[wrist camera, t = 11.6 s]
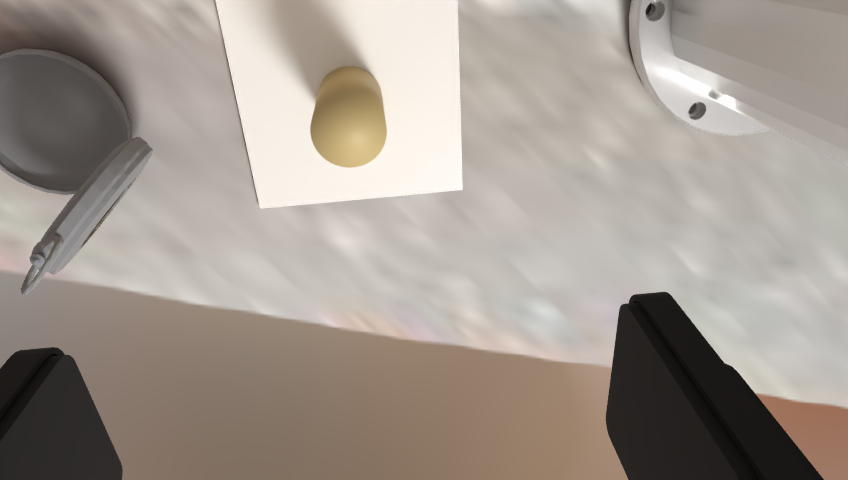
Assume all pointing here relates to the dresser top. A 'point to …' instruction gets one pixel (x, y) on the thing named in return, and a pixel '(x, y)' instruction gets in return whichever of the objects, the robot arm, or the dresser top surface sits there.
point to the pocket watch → (65, 146)
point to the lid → (346, 96)
